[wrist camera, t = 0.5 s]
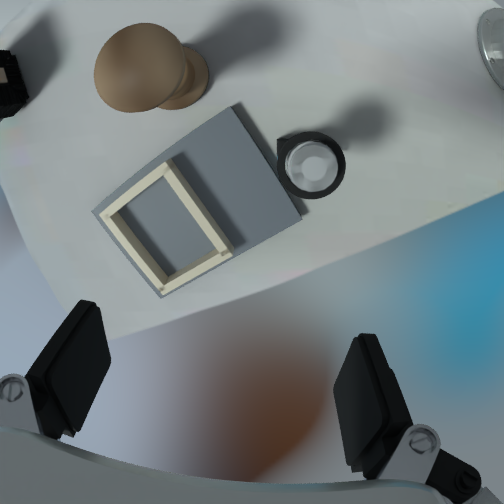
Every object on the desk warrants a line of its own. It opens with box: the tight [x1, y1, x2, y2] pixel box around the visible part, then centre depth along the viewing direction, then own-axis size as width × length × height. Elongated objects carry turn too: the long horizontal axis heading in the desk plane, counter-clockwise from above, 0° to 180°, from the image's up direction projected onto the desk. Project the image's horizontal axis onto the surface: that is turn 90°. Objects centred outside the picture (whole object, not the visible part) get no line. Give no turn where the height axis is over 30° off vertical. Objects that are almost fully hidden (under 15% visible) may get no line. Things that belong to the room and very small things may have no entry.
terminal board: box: [91, 106, 302, 298], centre depth 33 cm, size 20×14×3 cm
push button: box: [277, 132, 346, 199], centre depth 27 cm, size 7×5×10 cm
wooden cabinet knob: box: [94, 23, 209, 113], centre depth 23 cm, size 7×7×11 cm
